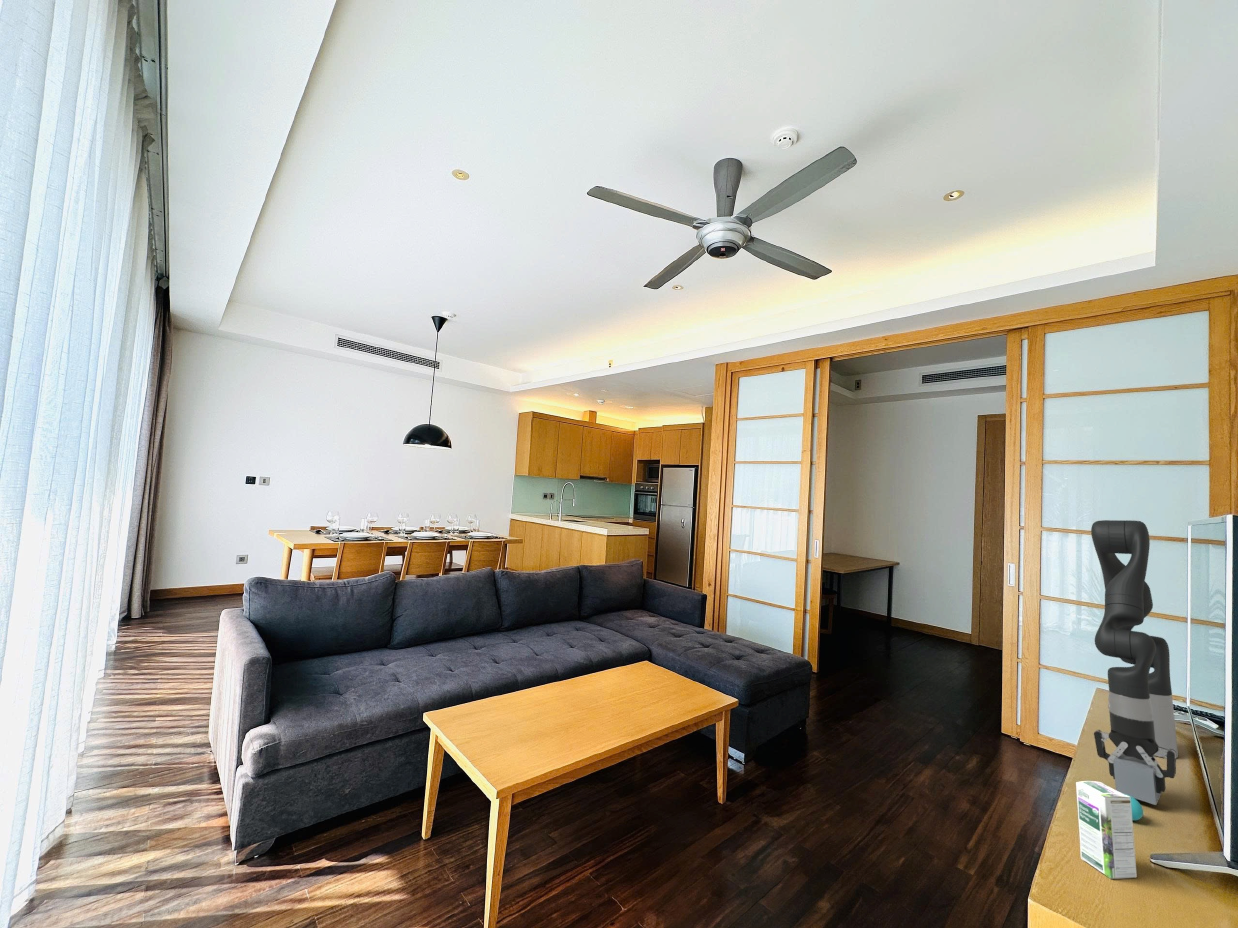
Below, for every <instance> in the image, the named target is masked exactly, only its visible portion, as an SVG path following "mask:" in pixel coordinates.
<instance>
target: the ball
mask: <svg viewBox="0 0 1238 928" xmlns="http://www.w3.org/2000/svg"><path fill="white" fill-rule="evenodd" d="M1122 794H1123V793H1122ZM1124 795H1127V794H1124ZM1127 796H1129V795H1127ZM1130 798H1131V808H1132V821H1139V820H1140V819H1142V817H1143V816H1144V809H1143V806H1142V804H1140V802H1139V801H1138V799H1136V798H1133V797H1131V796H1130Z"/></svg>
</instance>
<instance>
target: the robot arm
mask: <svg viewBox="0 0 1238 928" xmlns="http://www.w3.org/2000/svg"><path fill="white" fill-rule="evenodd" d="M1090 531H1091V538H1092V544H1093V547H1094V550H1095V553H1096V556H1097V558H1098V561H1099V565H1100V569H1101V573H1102V578H1103V579H1102V580H1103V585H1104V590H1105V591H1104V614H1103V618H1102V620H1101V623H1100V625H1099V626H1098V629H1097V630H1096V632H1095V636H1094V645H1095V648H1096V649H1097V650H1098V652H1099V653H1101V654H1102V655H1103V656H1106V657H1111V658H1118V659H1120V660H1121V661H1122V662H1124V663H1126V664H1130V665H1132V666H1113V667H1109V668H1108V669H1107V681H1108V682H1107V683H1108V705H1107V707H1108V709H1109V710H1108V711H1109V721H1110V722H1109V723H1110V732H1106V731H1105V732H1104V731H1102V730H1100V729H1096V730H1095V731H1094V732H1093V736H1094V742H1095V747H1096V748H1095V749H1096V753H1097V756H1098V757H1099V758H1101V759H1104V760H1106V761H1107V763H1108V771H1109V775H1110V776H1111V777H1112V778H1113V780H1115V774H1114V763H1113V760H1114V758H1118V757H1119V756H1120V755H1121V754H1124V755H1125V756H1129V757H1135V758H1137V759H1139V760H1145V761H1146V763H1147V764H1148V765H1149V767H1151V768H1153V769H1154V771H1155V774H1156V776H1155V781H1156V792H1157V793H1160V795H1161V794H1162V793H1164V792H1165V791H1166V789H1167V788H1166V778H1170V779H1174V778H1175V777H1176V774H1177V758H1179V753H1178V741H1177V731H1176V729H1177V728H1176V721H1175V712H1174V705H1173V704H1174V702H1173V690H1172V683H1171V669H1170V668H1171V665H1170V662H1171V661H1170V648H1169V647H1170V646H1169V644H1168V642H1167V641H1166V639H1165V638H1163V637H1161V636H1156V635H1155V636H1154V635H1149V634H1148V633H1146V632H1142V631H1136V630H1133V629H1134V628H1135V627H1136V626H1140V625H1142V624H1143V622H1144V620H1145V618H1146V617H1147V616H1148V615H1149V614H1150V613H1151V612H1152V610H1153V606H1154V603H1153V597H1152V592H1151V588H1150V585H1149V584H1148V583H1147V582H1146V575H1147V569H1148V565H1149V563H1148V562H1149V555H1150V545H1151V542H1150V534H1149V533H1150V532H1149V529H1148V527H1147V525H1146V523H1144V522H1143V521H1141V520H1133V519H1132V520H1131V519H1130V520H1129V519H1127V520H1117V519H1116V520H1114V519H1113V520H1111V519H1109V520H1108V519H1107V520H1106V519H1105V520H1096V521H1094V522H1093V523H1092V524H1091V529H1090ZM1116 554H1118V555H1119V554H1120V555H1130V559H1129V560H1128V562H1127V564H1126V565H1125V564H1124V563H1123V562H1122V561H1121V560H1120V559H1119V558H1118V557H1117V555H1116ZM1151 668H1153V671H1152V672H1150V669H1151ZM1108 739H1109V740H1110V741H1111V742H1112V744H1113V745H1114V746H1115V747H1116V748H1115V749H1114V750H1113V752H1111V754H1110V753H1108V752H1107V751H1106V750H1107V749H1106V745H1105V742H1106V741H1108ZM1156 757H1159V758H1164V759H1166V769H1163V768H1162V766H1160V765H1161V764H1159V761H1158V760H1157V758H1156Z"/></svg>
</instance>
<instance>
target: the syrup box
mask: <svg viewBox="0 0 1238 928" xmlns="http://www.w3.org/2000/svg"><path fill="white" fill-rule="evenodd" d="M1075 788H1076V804H1077V817H1078V831H1079V833H1078V834H1079V848H1080V849H1079V851H1080V859H1081V860H1082V861H1083V862H1086V863H1088V865H1090V866H1092V867H1093V868H1095V869H1096V870H1097V871H1099V872H1100V873H1102V874H1103V875H1104V876H1106V877H1107V878H1109V879H1111V880H1113V879H1114V880H1117V879H1120V880H1121V879H1133V878H1137V877H1138V875H1137V864H1136V863H1137V861H1136V852H1135V851H1136V850H1135V848H1136V847H1135V836H1134V827H1133V826H1134V825H1133V823H1134V822H1133V820H1132V808H1131V798H1130V796H1127V795H1124V794H1122V793H1120V792H1118V791H1116V788H1115V789H1114V788H1112V787H1111V786H1109V785H1106V784H1105V783H1104V782H1101V781H1094V780H1084V781H1083V780H1082V781H1076V782H1075Z"/></svg>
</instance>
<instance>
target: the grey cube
mask: <svg viewBox="0 0 1238 928" xmlns="http://www.w3.org/2000/svg"><path fill="white" fill-rule="evenodd" d="M1113 763H1114V774H1115V779H1114V783H1115V790H1116V791H1118V792H1120V793H1123V794H1127V795H1129V796H1131V797H1133V798H1134V799H1136V800H1139V801H1141V802H1145V803H1148V804H1151V805H1153V806H1157V804H1158V803H1159V800H1160V797H1161V794H1160V793H1157V792H1156V781H1155V776H1156V774H1155V771H1154V769H1153V768H1151V767H1149V765H1148V764H1147V763H1146V761H1145V760H1139V759H1137V758H1135V757H1129V756H1125V755H1124V754H1123V753H1122V754H1121V755H1120V756H1119V757H1118V758H1114V760H1113Z"/></svg>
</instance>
